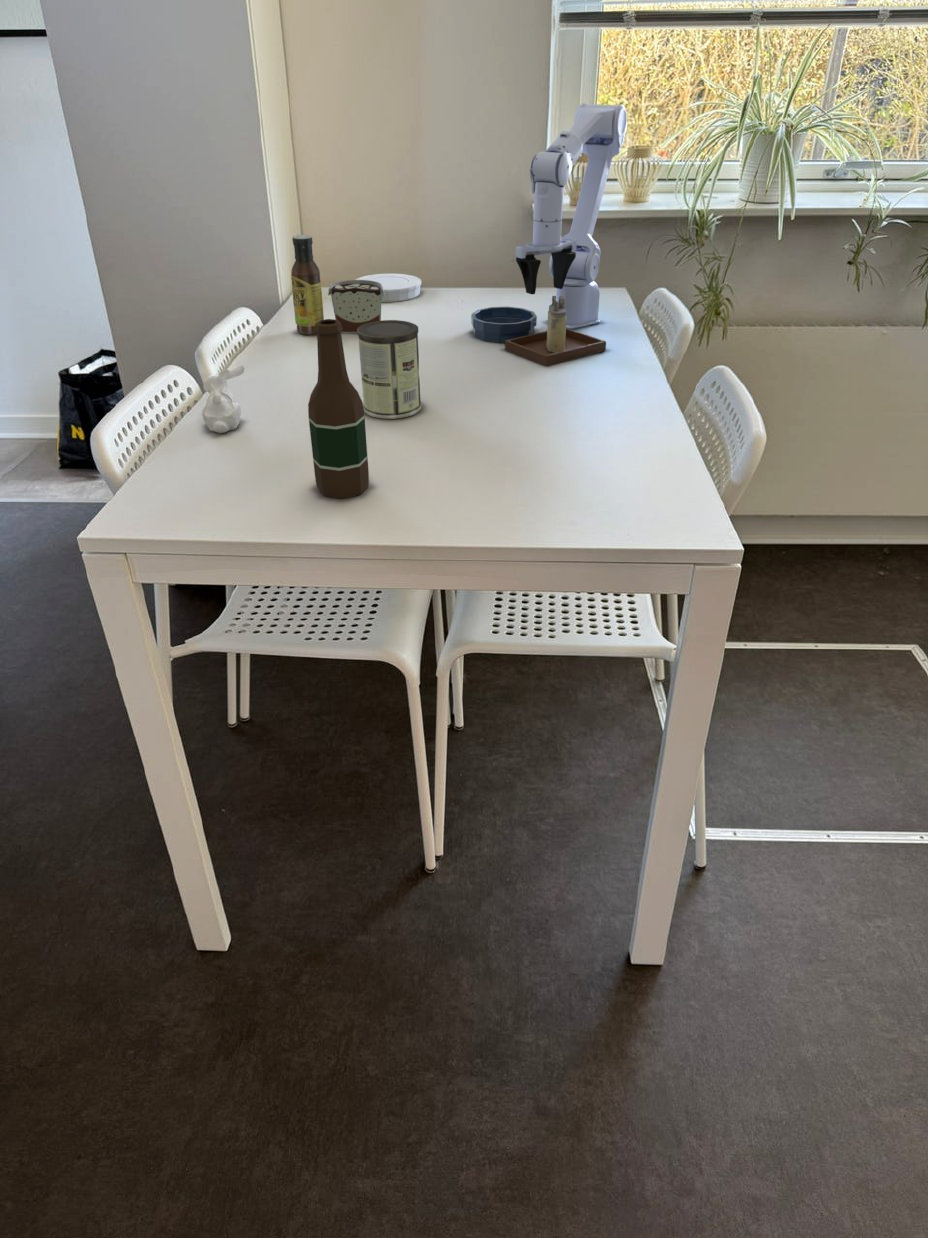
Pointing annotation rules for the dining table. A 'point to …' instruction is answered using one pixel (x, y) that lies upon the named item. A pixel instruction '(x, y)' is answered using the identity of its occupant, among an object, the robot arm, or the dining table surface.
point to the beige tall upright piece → (556, 326)
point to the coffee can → (389, 368)
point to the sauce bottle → (306, 286)
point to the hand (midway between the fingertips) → (544, 290)
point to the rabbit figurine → (221, 402)
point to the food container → (356, 303)
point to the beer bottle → (336, 420)
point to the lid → (396, 286)
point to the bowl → (502, 323)
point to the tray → (537, 352)
